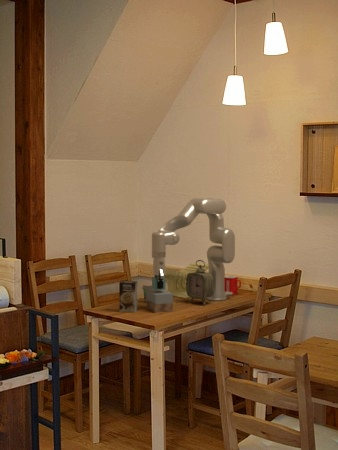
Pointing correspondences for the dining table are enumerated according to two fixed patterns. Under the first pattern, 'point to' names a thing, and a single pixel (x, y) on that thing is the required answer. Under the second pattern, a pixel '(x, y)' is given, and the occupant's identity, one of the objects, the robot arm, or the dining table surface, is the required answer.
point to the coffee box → (128, 296)
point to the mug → (232, 284)
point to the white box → (159, 296)
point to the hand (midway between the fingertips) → (158, 287)
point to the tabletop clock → (200, 284)
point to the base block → (160, 307)
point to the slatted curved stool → (180, 279)
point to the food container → (145, 291)
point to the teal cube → (154, 283)
